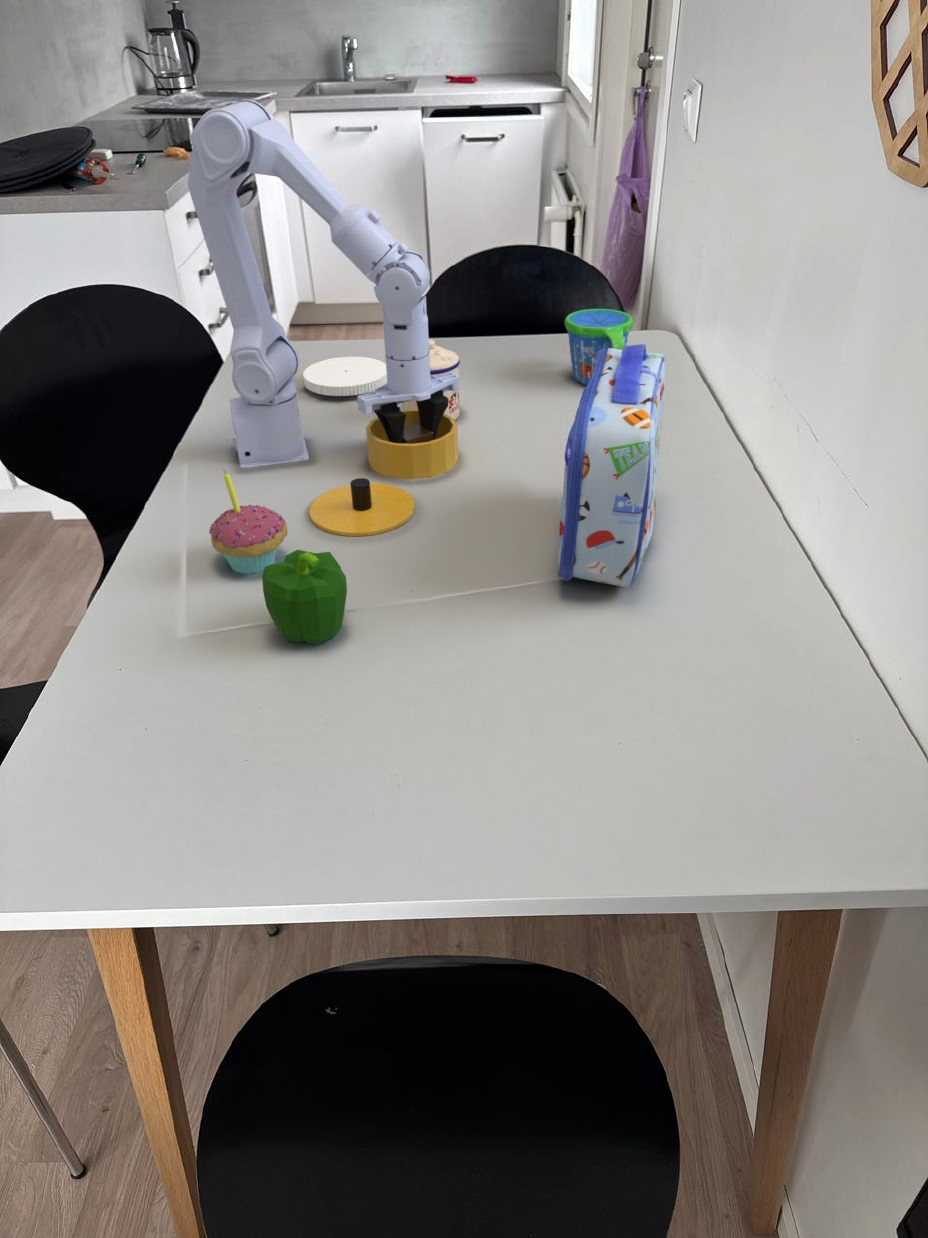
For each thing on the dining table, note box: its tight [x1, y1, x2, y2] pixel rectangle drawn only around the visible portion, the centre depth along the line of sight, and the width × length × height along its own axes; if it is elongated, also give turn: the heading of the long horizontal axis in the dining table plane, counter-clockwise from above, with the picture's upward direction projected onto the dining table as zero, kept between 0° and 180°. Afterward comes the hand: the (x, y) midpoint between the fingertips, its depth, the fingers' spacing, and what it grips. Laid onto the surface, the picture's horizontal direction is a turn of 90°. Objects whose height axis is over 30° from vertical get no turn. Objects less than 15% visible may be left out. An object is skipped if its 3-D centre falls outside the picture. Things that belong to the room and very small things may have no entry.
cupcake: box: [208, 467, 288, 575], centre depth 106 cm, size 9×8×12 cm
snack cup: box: [564, 308, 634, 386], centre depth 153 cm, size 16×10×10 cm
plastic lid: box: [302, 356, 387, 397], centre depth 156 cm, size 14×14×2 cm
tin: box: [365, 409, 459, 480], centre depth 130 cm, size 12×12×5 cm
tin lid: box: [309, 477, 416, 537], centre depth 118 cm, size 13×13×4 cm
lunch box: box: [557, 343, 666, 589], centre depth 106 cm, size 28×10×22 cm, turn 168°
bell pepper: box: [261, 549, 348, 645], centre depth 96 cm, size 8×8×10 cm
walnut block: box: [404, 423, 433, 444], centre depth 130 cm, size 4×4×4 cm
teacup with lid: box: [402, 338, 461, 421], centre depth 143 cm, size 12×9×12 cm
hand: (412, 450), depth 130 cm, fingers closed on walnut block, 4 cm apart
